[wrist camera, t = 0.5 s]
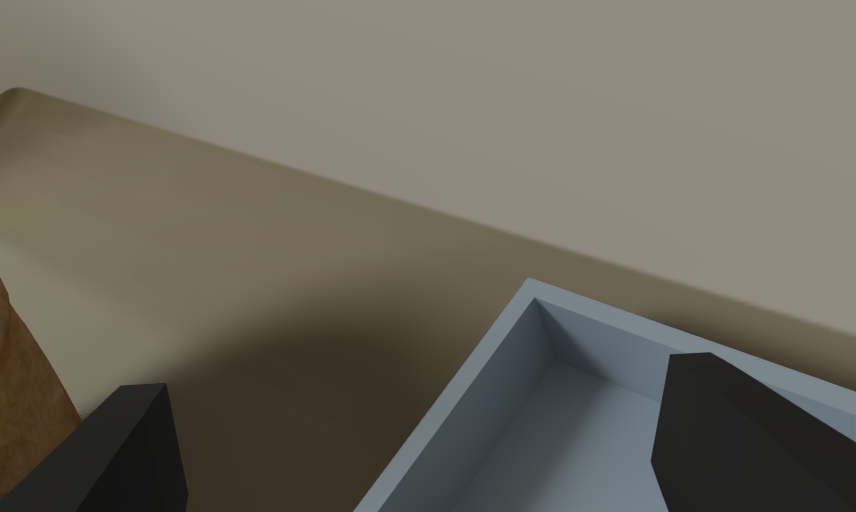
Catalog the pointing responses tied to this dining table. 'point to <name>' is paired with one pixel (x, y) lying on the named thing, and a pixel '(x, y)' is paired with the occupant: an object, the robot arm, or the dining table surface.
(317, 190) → the dining table surface
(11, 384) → the potted plant
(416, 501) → the tote
